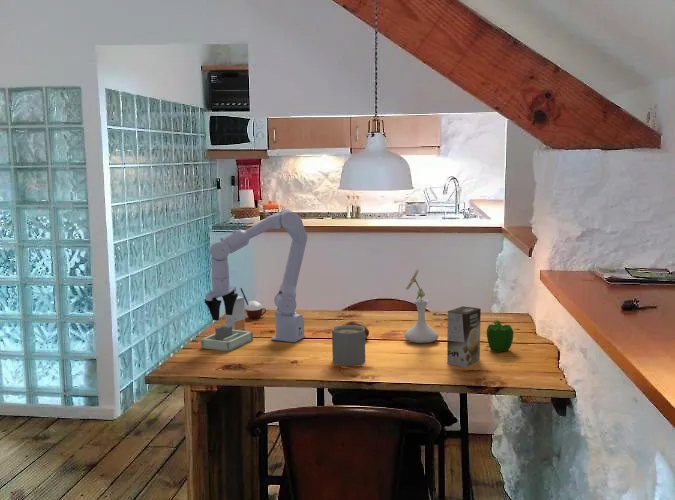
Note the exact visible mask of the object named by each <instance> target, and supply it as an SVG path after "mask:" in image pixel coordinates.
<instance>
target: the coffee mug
mask: <svg viewBox="0 0 675 500" xmlns="http://www.w3.org/2000/svg"><path fill="white" fill-rule="evenodd" d="M331 343H332V350H331V351H332V363H333V364H334V365H337V366H343V367H345V366H346V367H353V366H360V365H362V364H364V363H365V362H366V339H365V328H364V327H362V326H358V325H342V324H341V325H337V326H334V327H332V328H331Z"/></svg>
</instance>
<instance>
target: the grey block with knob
mask: <svg viewBox="0 0 675 500" xmlns="http://www.w3.org/2000/svg"><path fill="white" fill-rule="evenodd" d="M214 329H215V330H214V331H215V333H216V340H219V341H223V339H224V338H227V337H229V336H231V335H232V326H227V325H226V323H223V324H220V325H219V326H217V327H215V328H214ZM215 333H214V334H215Z"/></svg>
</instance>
